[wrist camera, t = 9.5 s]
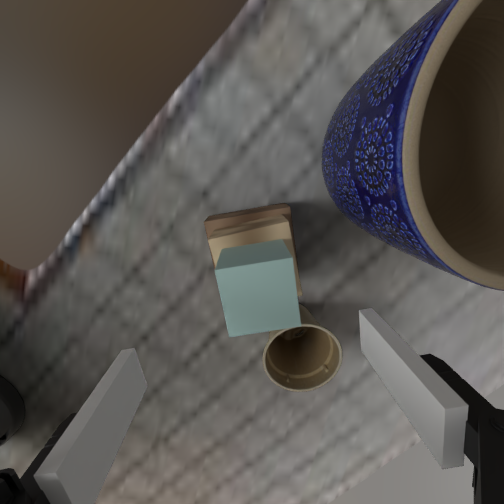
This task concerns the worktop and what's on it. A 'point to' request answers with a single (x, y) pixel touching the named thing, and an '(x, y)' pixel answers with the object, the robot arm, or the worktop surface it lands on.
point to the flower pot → (302, 355)
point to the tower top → (254, 238)
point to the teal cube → (258, 288)
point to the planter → (429, 143)
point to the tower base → (249, 219)
